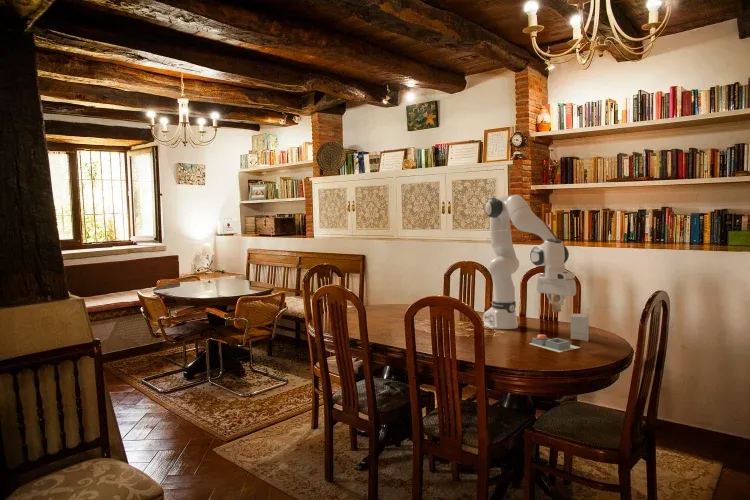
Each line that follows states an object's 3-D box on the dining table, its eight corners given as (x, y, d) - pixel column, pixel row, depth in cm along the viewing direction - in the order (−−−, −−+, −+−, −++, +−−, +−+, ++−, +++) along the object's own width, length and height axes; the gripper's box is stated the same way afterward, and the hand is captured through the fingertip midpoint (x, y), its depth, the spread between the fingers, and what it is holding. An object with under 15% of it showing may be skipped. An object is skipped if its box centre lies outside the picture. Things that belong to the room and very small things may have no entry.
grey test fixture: (528, 346, 245) (528, 337, 244) (549, 342, 251) (549, 333, 251) (559, 355, 229) (559, 345, 229) (580, 350, 236) (580, 340, 235)
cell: (550, 311, 241) (549, 290, 241) (556, 310, 243) (555, 289, 243) (557, 312, 238) (556, 291, 237) (563, 311, 240) (562, 290, 239)
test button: (535, 340, 245) (535, 335, 244) (541, 338, 247) (541, 333, 246) (542, 341, 241) (542, 336, 241) (548, 340, 243) (548, 335, 243)
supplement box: (588, 339, 254) (589, 314, 253) (586, 343, 248) (586, 317, 247) (572, 338, 258) (573, 313, 257) (570, 341, 252) (570, 315, 251)
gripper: (533, 273, 247) (534, 302, 248) (568, 276, 229) (569, 307, 230) (542, 272, 250) (543, 300, 251) (578, 274, 232) (579, 305, 233)
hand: (556, 304), depth 240 cm, fingers closed on cell, 4 cm apart
